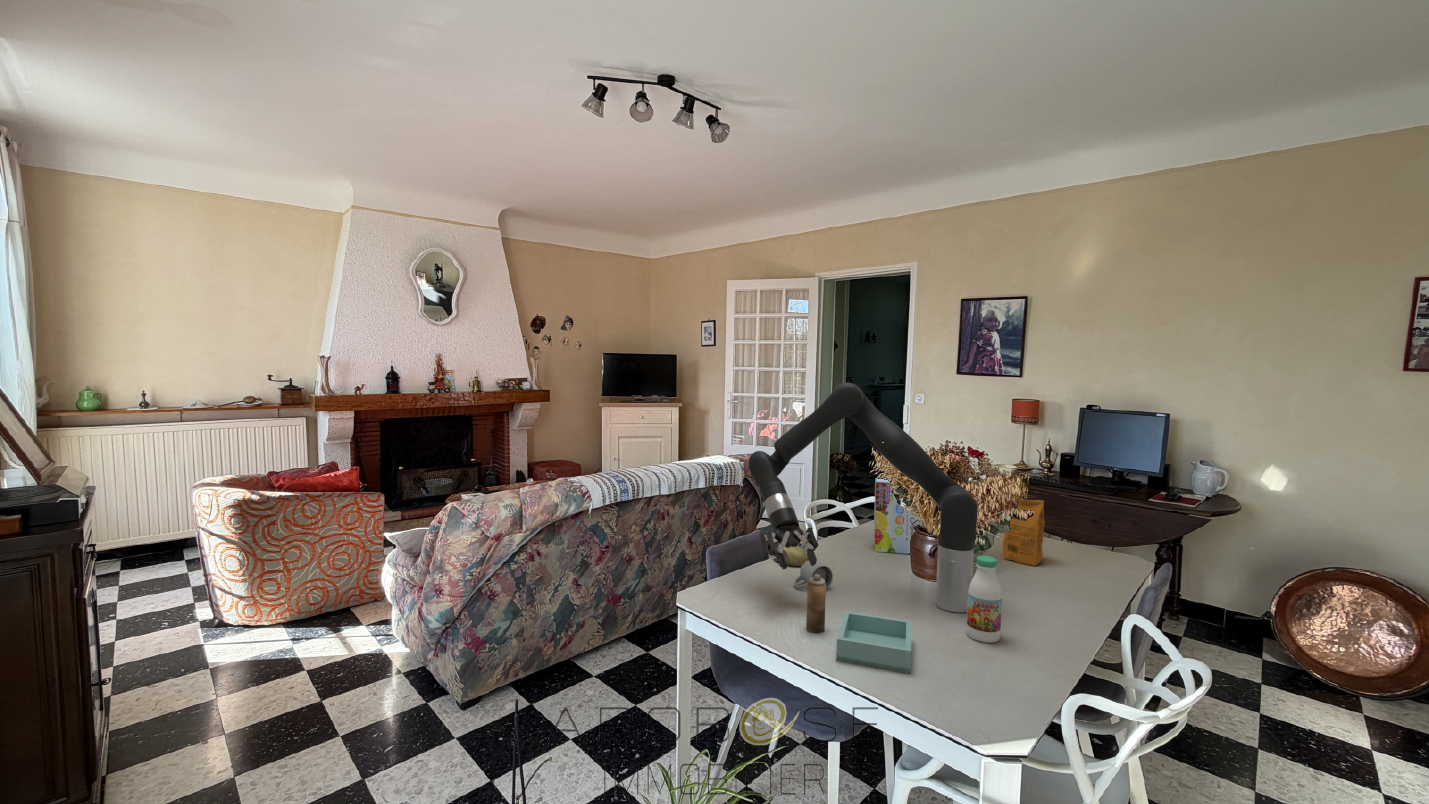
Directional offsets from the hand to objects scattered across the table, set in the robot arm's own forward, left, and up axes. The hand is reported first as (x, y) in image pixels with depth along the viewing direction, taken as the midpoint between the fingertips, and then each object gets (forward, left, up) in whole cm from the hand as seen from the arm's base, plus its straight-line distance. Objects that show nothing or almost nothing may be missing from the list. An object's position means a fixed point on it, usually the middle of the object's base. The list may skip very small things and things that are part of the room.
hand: (799, 566), depth 157 cm
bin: (-21, +13, -13) cm, 28 cm away
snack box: (-26, -67, -14) cm, 73 cm away
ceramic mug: (0, -21, -14) cm, 25 cm away
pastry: (+9, -42, -14) cm, 45 cm away
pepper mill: (-6, +7, -13) cm, 16 cm away
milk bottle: (-46, -4, -14) cm, 48 cm away
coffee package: (-65, -72, -14) cm, 98 cm away
